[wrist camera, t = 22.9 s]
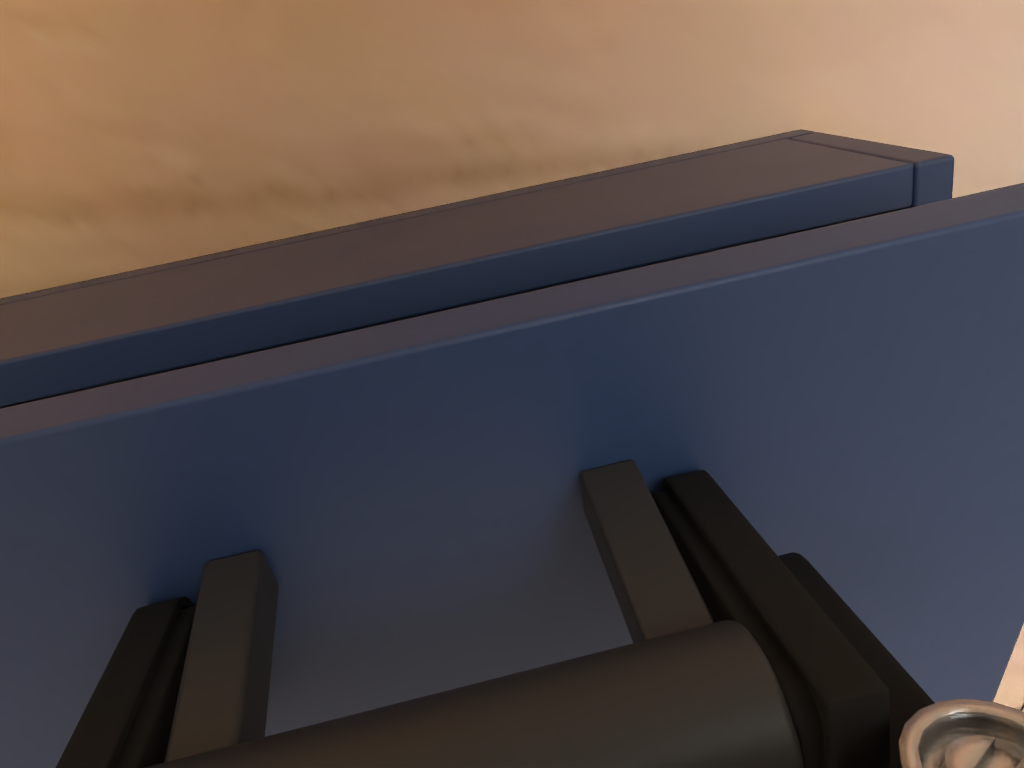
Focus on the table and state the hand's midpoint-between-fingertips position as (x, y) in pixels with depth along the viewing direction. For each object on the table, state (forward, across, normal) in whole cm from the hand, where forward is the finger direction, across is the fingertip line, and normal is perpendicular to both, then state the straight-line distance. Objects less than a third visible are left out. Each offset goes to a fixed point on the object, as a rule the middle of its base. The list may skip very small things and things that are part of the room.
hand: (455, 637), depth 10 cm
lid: (+2, 0, +4) cm, 5 cm away
